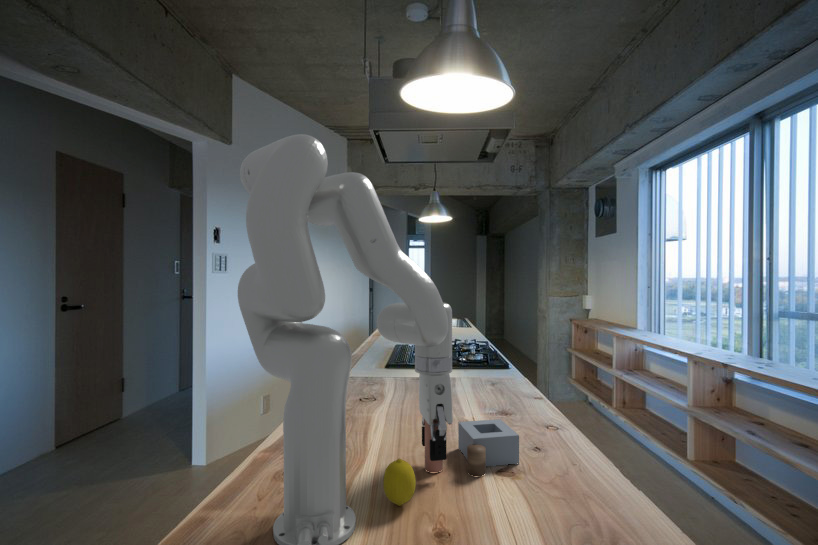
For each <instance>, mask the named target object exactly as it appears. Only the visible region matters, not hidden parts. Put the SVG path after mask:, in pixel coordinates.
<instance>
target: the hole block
mask: <svg viewBox="0 0 818 545" xmlns="http://www.w3.org/2000/svg"><path fill="white" fill-rule="evenodd" d="M457 427H458V429H457V430H458V431H457V432H458V433H457V434H458V437H457V438H458V444H457V445H458V448H459V449H460V450H461V451H460V450H459V449H458V448H457V449H458V450H459V451H460V452H462V453H463V454H464V455H463V454H462V453H461V454H462V455H463V457H464V456H465V457H466V458H467V447H468V446H469V445H472V444H478V445H482V446H484V447H485V448H486V466H493V467H497V466H496V465H504V466H509V465H508V464H515V465H520V435H519V434H518V433H517V432H516V431H515V429H513V428H511V427H510V426H509V425H508V424H507V423H506V422H504V421H503V419H501V418H499V419H496V418H495V419H484V420H481V419H480V420H469V421H458V426H457ZM465 457H464V458H465ZM466 458H465V459H466ZM517 463H518V464H517ZM505 464H506V465H505Z"/></svg>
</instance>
